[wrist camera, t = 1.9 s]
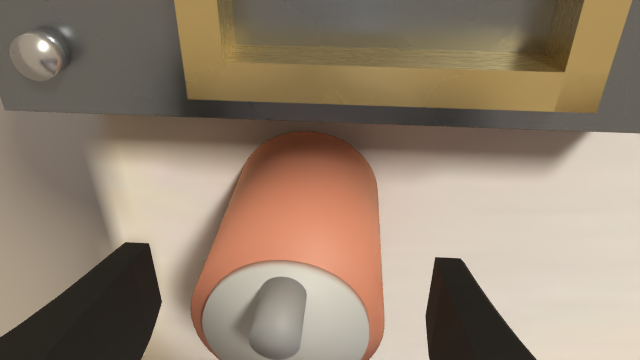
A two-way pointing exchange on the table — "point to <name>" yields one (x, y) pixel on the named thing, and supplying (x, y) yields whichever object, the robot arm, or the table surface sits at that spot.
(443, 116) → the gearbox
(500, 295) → the table surface
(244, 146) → the table surface
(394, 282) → the table surface
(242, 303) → the spout can
